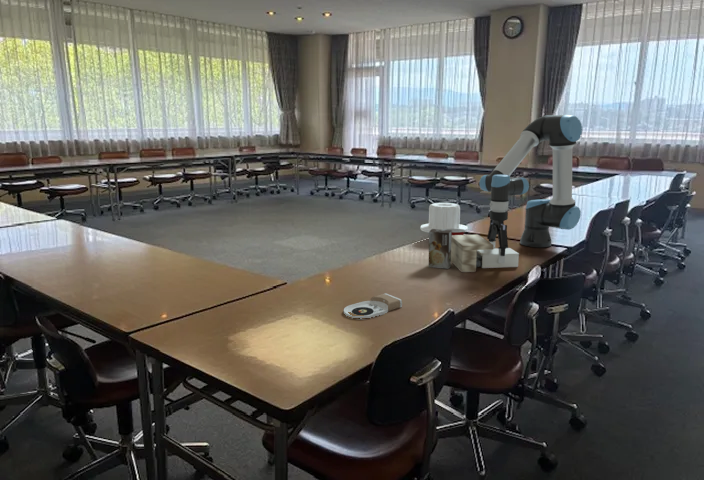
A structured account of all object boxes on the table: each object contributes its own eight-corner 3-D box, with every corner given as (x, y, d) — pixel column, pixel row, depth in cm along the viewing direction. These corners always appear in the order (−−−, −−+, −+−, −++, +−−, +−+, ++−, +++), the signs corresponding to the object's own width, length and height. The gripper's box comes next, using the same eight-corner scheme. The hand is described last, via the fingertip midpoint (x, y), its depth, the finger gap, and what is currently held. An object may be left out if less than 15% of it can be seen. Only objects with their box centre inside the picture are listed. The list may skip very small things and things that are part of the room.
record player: (404, 300, 173) (357, 314, 161) (404, 309, 173) (358, 323, 162) (382, 291, 182) (336, 304, 170) (382, 300, 182) (337, 313, 171)
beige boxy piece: (476, 258, 234) (477, 234, 232) (491, 271, 215) (493, 244, 212) (449, 259, 233) (449, 235, 230) (461, 272, 214) (462, 245, 211)
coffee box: (451, 265, 224) (452, 229, 220) (448, 269, 218) (449, 232, 215) (431, 263, 227) (432, 228, 224) (427, 267, 222) (428, 231, 218)
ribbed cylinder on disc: (415, 235, 284) (416, 201, 280) (458, 233, 287) (459, 200, 283) (426, 245, 260) (427, 209, 256) (473, 243, 263) (475, 207, 259)
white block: (509, 260, 230) (510, 248, 229) (518, 266, 221) (518, 253, 219) (474, 261, 229) (475, 249, 228) (482, 268, 219) (482, 254, 218)
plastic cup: (463, 250, 249) (464, 226, 246) (465, 256, 238) (466, 231, 236) (440, 250, 250) (441, 226, 247) (442, 256, 239) (443, 231, 237)
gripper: (481, 206, 231) (479, 252, 236) (500, 215, 208) (497, 266, 213) (497, 206, 231) (495, 252, 236) (518, 215, 208) (515, 266, 213)
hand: (496, 259), depth 224 cm, fingers open, 11 cm apart
